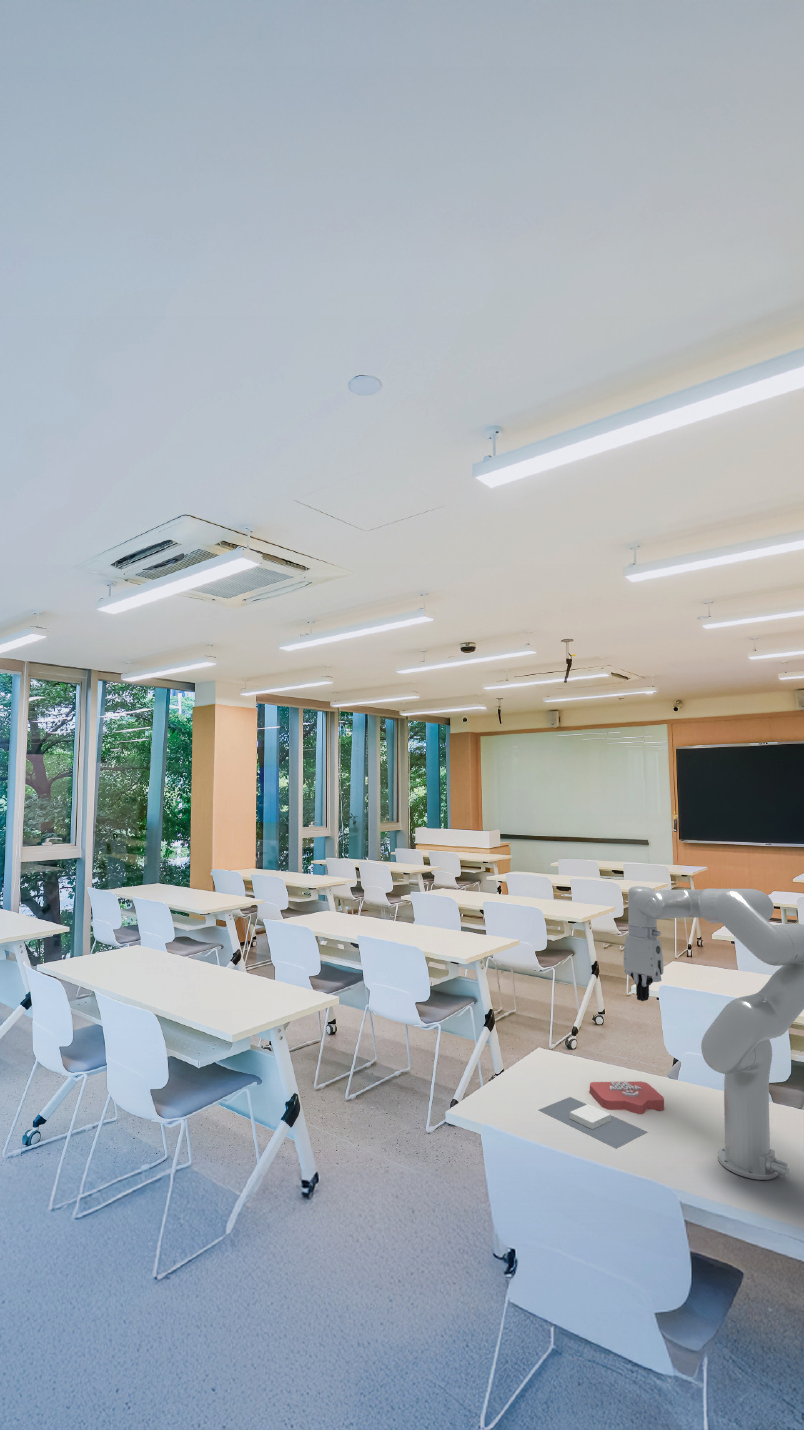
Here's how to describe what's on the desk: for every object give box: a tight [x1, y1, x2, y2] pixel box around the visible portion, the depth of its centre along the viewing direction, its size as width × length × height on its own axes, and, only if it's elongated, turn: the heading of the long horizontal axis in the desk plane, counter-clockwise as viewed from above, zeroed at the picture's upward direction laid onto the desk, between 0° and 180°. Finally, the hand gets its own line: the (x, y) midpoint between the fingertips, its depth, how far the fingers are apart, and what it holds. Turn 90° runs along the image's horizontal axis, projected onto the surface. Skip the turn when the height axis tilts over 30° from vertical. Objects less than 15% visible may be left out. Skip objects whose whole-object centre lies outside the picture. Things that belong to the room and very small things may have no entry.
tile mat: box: [538, 1096, 648, 1150], centre depth 176 cm, size 24×14×1 cm, turn 39°
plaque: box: [589, 1080, 665, 1115], centre depth 188 cm, size 18×4×15 cm
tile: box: [570, 1103, 612, 1129], centre depth 176 cm, size 2×8×7 cm
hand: (642, 999), depth 187 cm, fingers closed
